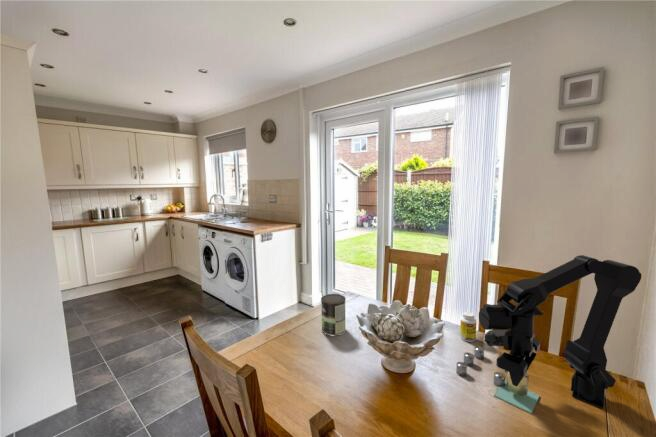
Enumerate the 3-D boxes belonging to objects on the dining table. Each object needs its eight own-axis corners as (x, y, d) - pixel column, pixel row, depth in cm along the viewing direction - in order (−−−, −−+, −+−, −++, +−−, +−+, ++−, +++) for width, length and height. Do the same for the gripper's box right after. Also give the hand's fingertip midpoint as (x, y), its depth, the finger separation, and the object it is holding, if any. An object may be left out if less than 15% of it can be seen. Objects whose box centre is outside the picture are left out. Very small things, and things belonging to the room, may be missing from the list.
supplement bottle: (465, 343, 109) (466, 317, 108) (457, 335, 114) (457, 311, 113) (478, 341, 110) (480, 316, 108) (469, 334, 115) (470, 310, 114)
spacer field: (518, 369, 93) (518, 361, 92) (501, 395, 82) (502, 385, 81) (473, 352, 103) (473, 344, 103) (453, 372, 92) (453, 363, 92)
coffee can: (322, 337, 115) (322, 304, 113) (320, 325, 125) (320, 294, 124) (347, 335, 116) (347, 302, 115) (343, 323, 126) (343, 293, 125)
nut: (529, 389, 81) (530, 372, 80) (525, 398, 77) (526, 380, 77) (509, 380, 84) (510, 364, 84) (504, 389, 81) (505, 371, 80)
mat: (539, 396, 81) (539, 395, 81) (531, 414, 75) (531, 412, 75) (503, 381, 87) (503, 379, 87) (493, 396, 81) (493, 394, 81)
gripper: (499, 309, 91) (497, 355, 93) (476, 330, 79) (474, 382, 80) (541, 321, 83) (538, 371, 85) (524, 346, 70) (521, 404, 72)
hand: (517, 380), depth 81 cm, fingers closed on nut, 5 cm apart
